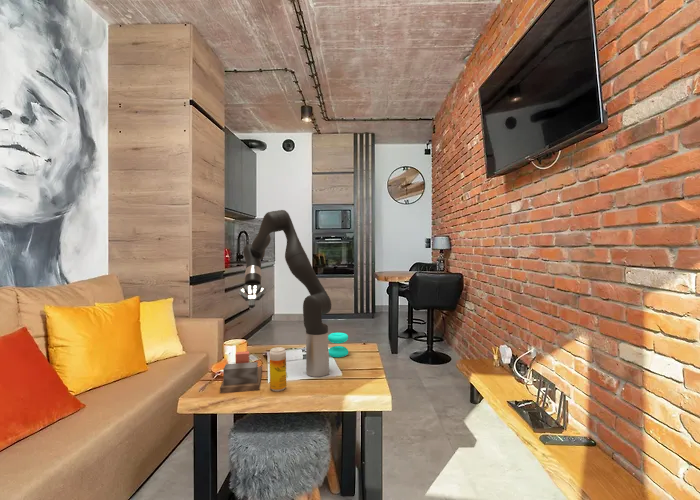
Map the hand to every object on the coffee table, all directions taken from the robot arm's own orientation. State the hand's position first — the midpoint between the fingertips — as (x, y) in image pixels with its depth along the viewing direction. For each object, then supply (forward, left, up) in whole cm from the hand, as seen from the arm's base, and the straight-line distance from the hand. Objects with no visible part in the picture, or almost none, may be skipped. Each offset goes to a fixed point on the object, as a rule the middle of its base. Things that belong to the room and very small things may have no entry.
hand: (251, 307), depth 166 cm
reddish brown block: (+2, +19, -24) cm, 30 cm away
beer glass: (-12, +30, -26) cm, 41 cm away
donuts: (-40, -5, -26) cm, 48 cm away
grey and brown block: (+2, +20, -26) cm, 33 cm away
